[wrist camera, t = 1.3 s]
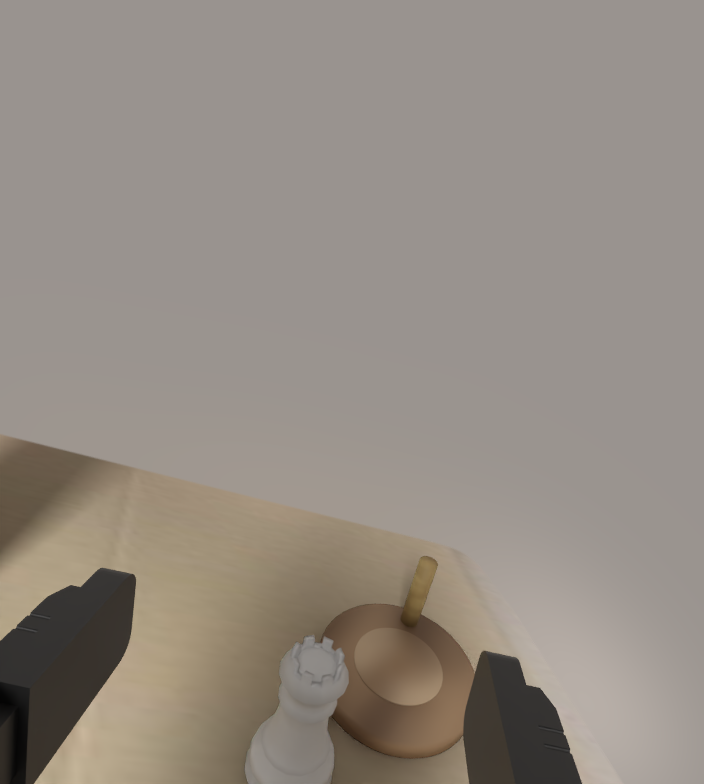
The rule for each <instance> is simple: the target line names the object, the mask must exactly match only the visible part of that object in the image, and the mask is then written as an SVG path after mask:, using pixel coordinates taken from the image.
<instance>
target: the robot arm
mask: <svg viewBox="0 0 704 784" xmlns="http://www.w3.org/2000/svg"><path fill="white" fill-rule="evenodd" d="M135 587H136V578H135V575H134V574H129V573H125V572H120V571H115V570H111V569H106V568H100V569H99V570H97V571H96V572H95V573H94V574H93V575H92V576H91V577H90V578H89V579H88V580H87V581H86V582H85V583H84V584H83V585H82V586H81V587H77V586H72V585H70V586H68V587H66V588H64V589H62V590H60V591H58V592H56V593H54V594H52V595H50V596H48V597H47V598H46V599H45V600H43V601H42V602H41V603H40V604H39V605H38V606H37V607H36V608H35V609H34V610H33V611H32V612H31V614H30V616H26V617H25V618H24V619H23V620H22V621H21V622H20V623H19V624H18V625H17V627H16V629H13V630H12V631H11V632H9V633H8V634H7V635H6V636H5V637H4V638H3V639H2V640H1V641H0V784H34V783H35V781H36V780H37V778H38V777H39V776H40V774H41V773H42V771H43V770H44V768H45V767H46V766H47V764H48V763H49V761H50V760H51V759H52V757H53V756H54V754H55V753H56V752H57V750H58V749H59V747H60V746H61V744H62V743H63V742H64V740H65V739H66V737H67V736H68V735H69V733H70V732H71V730H72V729H73V727H74V726H75V725H76V723H77V722H78V720H79V719H80V718H81V716H82V715H83V713H84V712H85V711H86V709H87V708H88V706H89V705H90V703H91V702H92V701H93V699H94V698H95V696H96V695H97V694H98V692H99V691H100V689H101V688H102V687H103V685H104V684H105V682H106V681H107V679H108V678H109V677H110V675H111V674H112V672H113V671H114V670H115V668H116V667H117V665H118V664H119V662H120V661H121V659H122V657H123V655H124V653H125V651H126V649H127V646H128V643H129V640H130V635H131V629H132V618H133V608H134V597H135ZM563 732H564V730H563V727H562V725H561V722H560V719H559V716H558V713H557V710H556V708H555V707H554V706H553V704H552V703H551V702H550V700H549V699H548V698H547V697H546V695H545V694H544V693H543V691H542V690H541V689H540V688H537V687H533V686H528V685H526V682H525V679H524V676H523V672H522V669H521V665H520V662H519V660H518V659H517V658H515V657H511V656H506V655H501V654H497V653H492V652H487V651H483V652H482V653H481V655H480V658H479V661H478V665H477V668H476V672H475V676H474V679H473V683H472V686H471V690H470V694H469V697H468V701H467V705H466V709H465V715H464V725H463V737H464V746H465V754H466V761H467V769H468V777H469V784H582V782H581V779H580V776H579V774H578V771H577V768H576V765H575V762H574V759H573V756H572V754H570V748H569V745H568V742H567V739H566V736H565V735H564V734H563Z"/></svg>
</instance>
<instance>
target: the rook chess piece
mask: <svg viewBox="0 0 704 784" xmlns="http://www.w3.org/2000/svg"><path fill="white" fill-rule="evenodd" d="M332 645H333V640H331V639H329V638H327V637H325V636H324V639H323V643H316V642H315V637H314V635H310V636H305V637H304V640H303V644H299V643H298V642H296V643H295V645H294V646H293V648H292V649H291V650H289V651H287V652H286V654H285V655H284V657H283V658H282V660H281V661H280V669H279V675H280V678H281V681H282V683H281V685H280V686H279V695H278V698H279V701H280V704H279V706H278V708H277V710H276V712H275V714H273V715H272V716H271V717H269V719H267V720H266V721H264V722H263V723H262V724H261V725H260V727H259V728H258V730H257V732H256V733H255V735H254V737H253V738H252V740H251V744H250V748H249V750H248V751H247V755H246V762H245V769H244V770H245V774H246V778H247V782H248V784H330V783H331V781H332V772H333V769H334V746H333V743H332V741H331V738H330V735H329V732H328V730H327V728H328V718H329V717H330V716H331V715H332V714H333V712H334V710H335V708H336V706H337V699H338V698H339V697H341V696H342V695H343V694H344V692H345V690H346V688H347V686H348V684H349V673H348V669H347V667H346V665H345V663H344V658H345V655H344V653H343V651H342V649H341V648H339V649H337V650H336V651H334V650H333V649H332Z"/></svg>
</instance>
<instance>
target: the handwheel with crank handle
mask: <svg viewBox="0 0 704 784" xmlns="http://www.w3.org/2000/svg"><path fill="white" fill-rule="evenodd" d="M437 566H438V563H437V562H436V560H434V559H433V558H431V557H428V556H423V557H421V558H420V561H419V564H418V567H417V570H416V573H415V576H414V579H413V582H412V585H411V588H410V591H409V594H408V597H407V600H406V603H405V606H404V608H403V607H398V606H394V605H387V604H367V605H361V606H357V607H354V608H351V609H349V610H347V611H345V612H343V613H341V614H340V615H338V616H337V617H336V618H335V619H334V620H333V621H332V622H331V623H330V624H329V625H328V627H327V628H326V630H325V632H324V634H323V636H322V639H321V642H320V643H323V639H324V636H325V637H327V638H329V639H331V640H333V645H332V649H333V650H334V651H336V650H337V649H339V648H341V649H342V651H343V653H344V655H345V658H344V663H345V665H346V667H347V669H348V673H349V684H348V686H347V688H346V690H345V692H344V694H343V695H342V696H341V697H339V698H338V699H337V706H336V708H335V710H334V712H333V714H332V715H331V716H332V717H333V718H334V719H335V721H336V722H337V723H338V724H339V725H340V726H341V727H342V728H343V729H344V730H345V731H346V732H347V733H348V734H350V735H351V736H352V737H353V738H355V739H356V740H358V741H359V742H361V743H362V744H364V745H366V746H368V747H370V748H372V749H374V750H376V751H378V752H381V753H384V754H387V755H391V756H395V757H400V758H425V757H430V756H434V755H437V754H439V753H442V752H444V751H445V750H447V749H449V748H451V747H452V746H453V745H454V744H455V743H457V742H458V740H459V739H460V738H461V737H462V736H463V725H464V715H465V709H466V705H467V701H468V697H469V694H470V690H471V686H472V683H473V679H474V676H475V674H474V670H473V668H472V665H471V663H470V661H469V659H468V657H467V656H466V654H465V652H464V651H463V650H462V648H461V647H460V645H459V644H458V643H457V642H456V641H455V640H454V639H453V637H452V636H451V635H449V634H448V633H447V632H446V631H445V630H444V629H443V628H441V627H440V626H439V625H438V624H436V623H435V622H433V621H431V620H430V619H428V618H426V617H425V616H423V615H421V612H422V609H423V606H424V604H425V601H426V598H427V595H428V592H429V589H430V586H431V583H432V581H433V578H434V575H435V572H436V569H437Z"/></svg>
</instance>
